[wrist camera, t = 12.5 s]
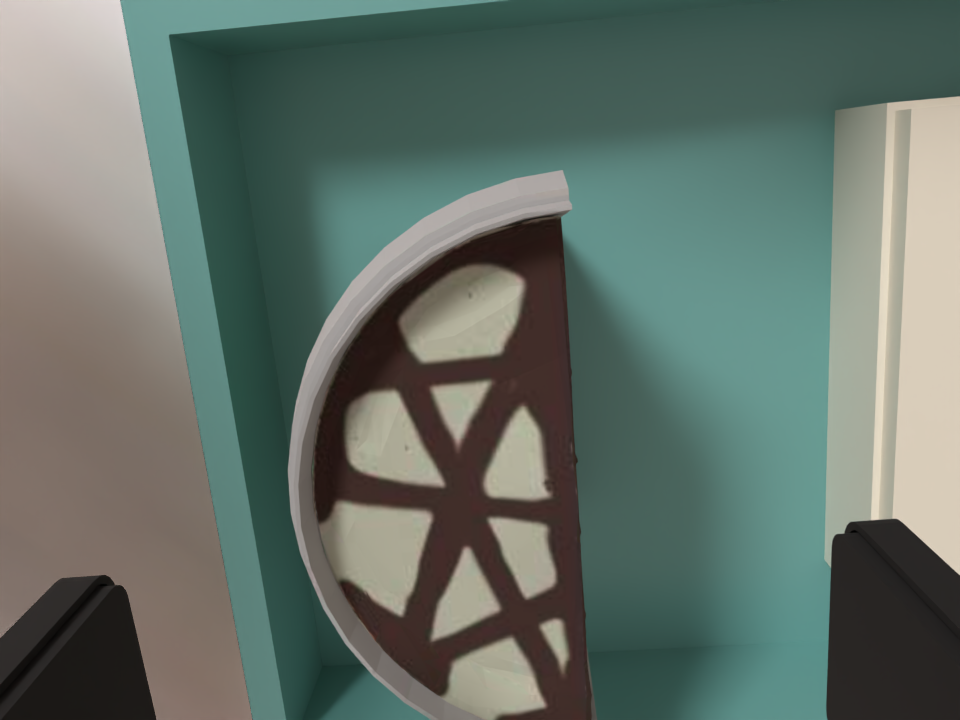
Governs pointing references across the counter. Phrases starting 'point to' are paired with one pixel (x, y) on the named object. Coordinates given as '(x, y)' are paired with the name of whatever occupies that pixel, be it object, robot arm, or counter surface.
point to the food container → (452, 464)
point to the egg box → (896, 322)
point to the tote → (589, 284)
